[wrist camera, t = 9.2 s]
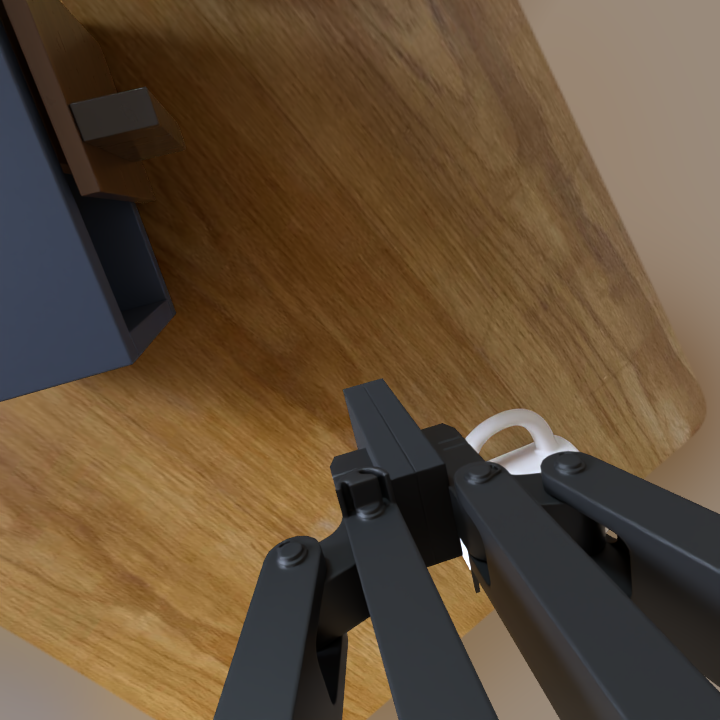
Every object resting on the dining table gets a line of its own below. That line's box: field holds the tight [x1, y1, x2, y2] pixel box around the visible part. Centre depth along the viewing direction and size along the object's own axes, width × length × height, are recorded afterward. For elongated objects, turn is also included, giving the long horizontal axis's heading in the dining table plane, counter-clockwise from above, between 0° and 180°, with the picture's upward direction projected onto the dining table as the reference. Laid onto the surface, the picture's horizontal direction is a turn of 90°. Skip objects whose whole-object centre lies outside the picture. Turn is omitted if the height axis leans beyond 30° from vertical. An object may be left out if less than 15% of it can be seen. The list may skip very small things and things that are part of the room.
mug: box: [460, 409, 609, 583], centre depth 37 cm, size 12×10×8 cm
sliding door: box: [2, 0, 186, 203], centre depth 24 cm, size 4×9×11 cm, turn 14°
